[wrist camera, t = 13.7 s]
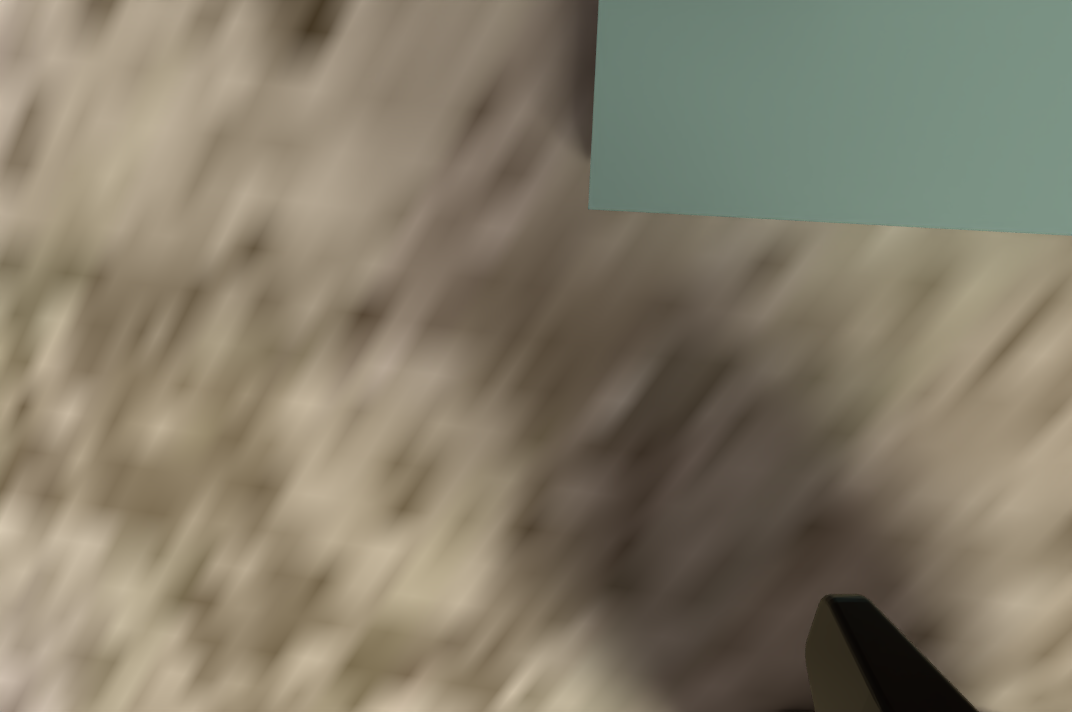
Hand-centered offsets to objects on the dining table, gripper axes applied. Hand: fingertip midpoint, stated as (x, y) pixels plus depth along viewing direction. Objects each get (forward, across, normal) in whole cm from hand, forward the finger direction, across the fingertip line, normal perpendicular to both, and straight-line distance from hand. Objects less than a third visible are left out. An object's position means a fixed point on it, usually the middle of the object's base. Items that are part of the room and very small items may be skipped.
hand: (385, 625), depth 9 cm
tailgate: (+11, -9, -2) cm, 15 cm away
